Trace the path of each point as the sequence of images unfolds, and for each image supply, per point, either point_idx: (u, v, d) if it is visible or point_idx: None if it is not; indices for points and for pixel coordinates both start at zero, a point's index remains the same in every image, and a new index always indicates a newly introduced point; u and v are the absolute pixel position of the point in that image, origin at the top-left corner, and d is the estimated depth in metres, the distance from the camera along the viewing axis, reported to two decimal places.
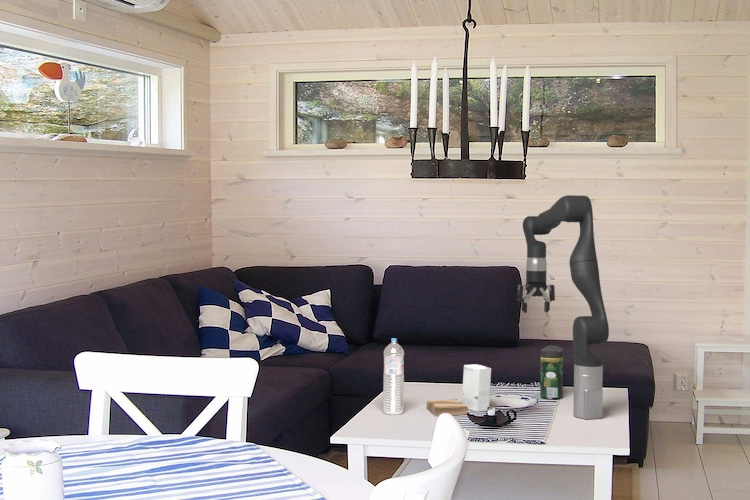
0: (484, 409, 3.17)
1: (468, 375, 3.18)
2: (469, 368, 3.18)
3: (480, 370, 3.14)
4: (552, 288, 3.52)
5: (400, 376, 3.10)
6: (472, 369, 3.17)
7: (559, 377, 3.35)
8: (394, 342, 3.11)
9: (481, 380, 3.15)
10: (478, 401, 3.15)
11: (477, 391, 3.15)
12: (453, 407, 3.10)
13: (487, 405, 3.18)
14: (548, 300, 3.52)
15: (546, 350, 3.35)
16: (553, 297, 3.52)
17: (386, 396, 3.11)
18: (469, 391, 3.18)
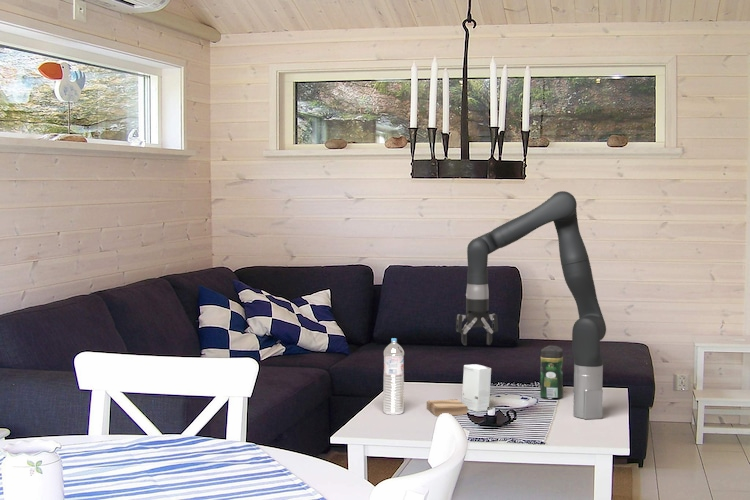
0: (484, 409, 3.17)
1: (468, 375, 3.18)
2: (469, 368, 3.18)
3: (480, 370, 3.14)
4: (495, 318, 3.18)
5: (400, 376, 3.10)
6: (472, 369, 3.17)
7: (559, 377, 3.35)
8: (394, 342, 3.11)
9: (481, 380, 3.15)
10: (478, 401, 3.15)
11: (477, 391, 3.15)
12: (453, 407, 3.10)
13: (487, 405, 3.18)
14: (490, 331, 3.18)
15: (546, 350, 3.35)
16: (496, 328, 3.18)
17: (386, 396, 3.11)
18: (469, 391, 3.18)
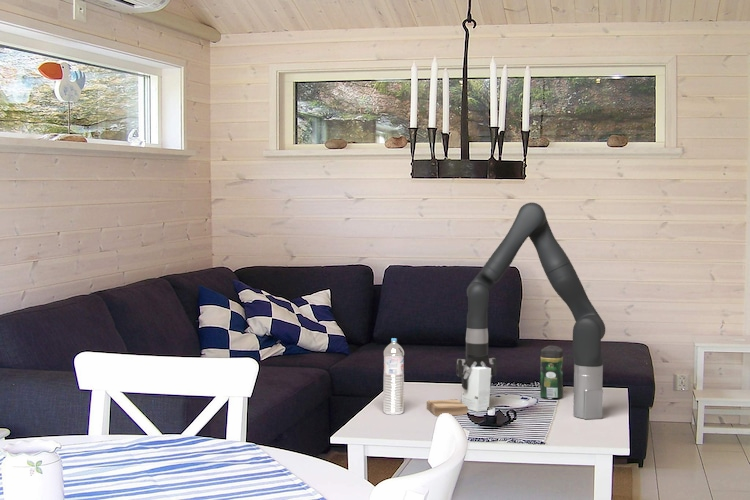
0: (484, 409, 3.17)
1: (468, 375, 3.18)
2: None
3: (480, 370, 3.14)
4: (494, 362, 3.19)
5: (400, 376, 3.10)
6: (472, 369, 3.17)
7: (559, 377, 3.35)
8: (394, 342, 3.11)
9: (481, 380, 3.15)
10: (478, 401, 3.15)
11: (477, 391, 3.15)
12: (453, 407, 3.10)
13: (487, 405, 3.18)
14: None
15: (546, 350, 3.35)
16: (495, 372, 3.19)
17: (386, 396, 3.11)
18: (469, 391, 3.18)
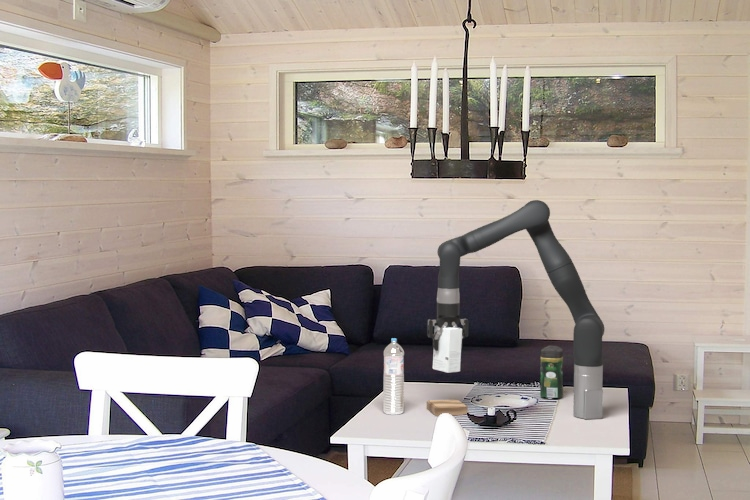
0: (455, 370, 3.12)
1: (439, 336, 3.13)
2: None
3: (450, 330, 3.09)
4: (466, 323, 3.14)
5: (400, 376, 3.10)
6: (443, 329, 3.12)
7: (559, 377, 3.35)
8: (394, 342, 3.11)
9: (452, 340, 3.10)
10: (448, 362, 3.10)
11: (448, 352, 3.10)
12: (453, 407, 3.10)
13: (458, 366, 3.13)
14: None
15: (546, 350, 3.35)
16: (466, 333, 3.14)
17: (386, 396, 3.11)
18: (440, 352, 3.13)
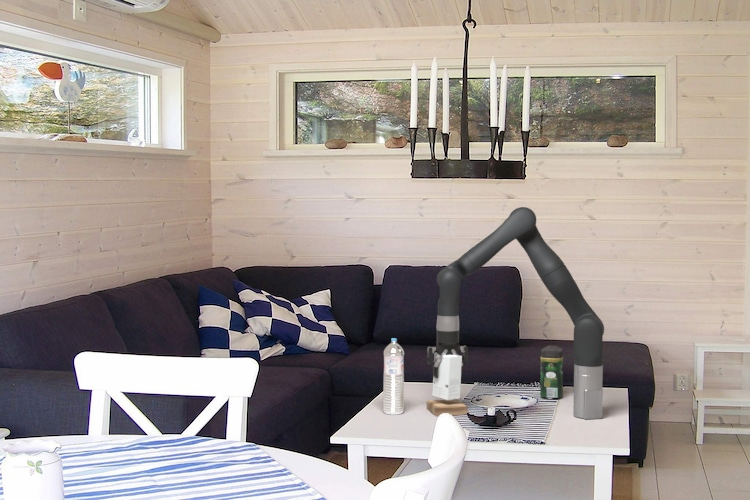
0: (455, 397, 3.12)
1: None
2: (439, 356, 3.13)
3: (450, 358, 3.10)
4: (465, 350, 3.14)
5: (400, 376, 3.10)
6: (442, 357, 3.12)
7: (559, 377, 3.35)
8: (394, 342, 3.11)
9: (452, 368, 3.10)
10: (448, 389, 3.10)
11: (448, 379, 3.10)
12: (453, 407, 3.10)
13: (458, 393, 3.13)
14: None
15: (546, 350, 3.35)
16: (466, 360, 3.15)
17: (386, 396, 3.11)
18: (440, 379, 3.13)
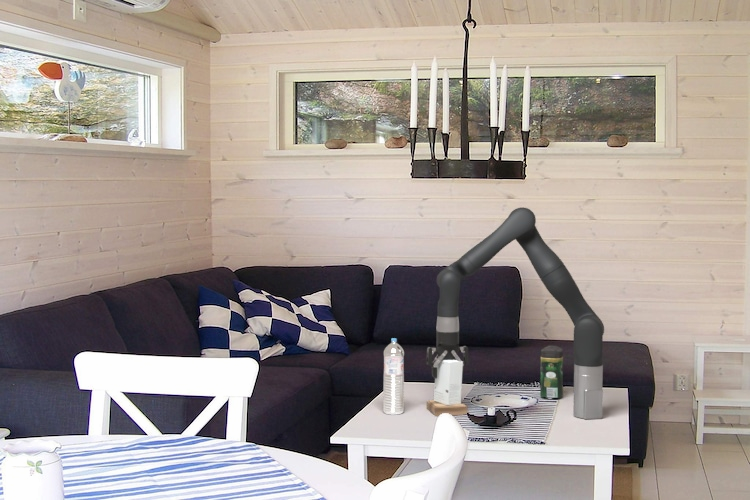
0: (455, 402, 3.12)
1: (439, 368, 3.14)
2: None
3: (451, 363, 3.10)
4: (466, 350, 3.14)
5: (400, 376, 3.10)
6: (443, 362, 3.12)
7: (559, 377, 3.35)
8: (394, 342, 3.11)
9: (452, 373, 3.11)
10: (448, 395, 3.11)
11: (448, 385, 3.10)
12: (453, 407, 3.10)
13: (459, 399, 3.13)
14: None
15: (546, 350, 3.35)
16: (467, 360, 3.15)
17: (386, 396, 3.11)
18: (441, 384, 3.14)
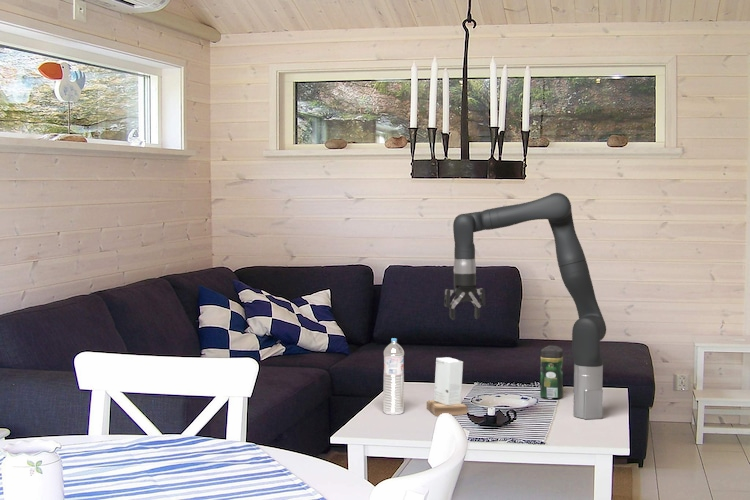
0: (455, 402, 3.12)
1: (440, 368, 3.14)
2: (441, 361, 3.14)
3: (451, 363, 3.10)
4: (482, 292, 3.21)
5: (400, 376, 3.10)
6: (443, 362, 3.12)
7: (559, 377, 3.35)
8: (394, 342, 3.11)
9: (452, 373, 3.11)
10: (448, 395, 3.11)
11: (448, 385, 3.10)
12: (453, 407, 3.10)
13: (459, 399, 3.13)
14: (478, 305, 3.21)
15: (546, 350, 3.35)
16: (483, 302, 3.22)
17: (386, 396, 3.11)
18: (441, 384, 3.14)
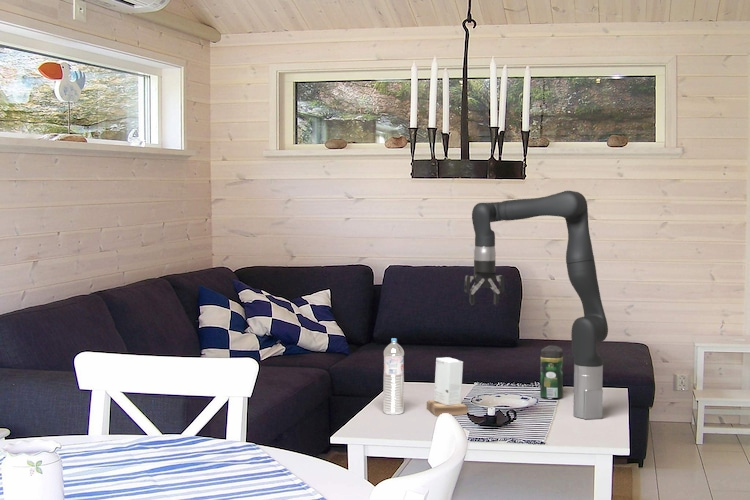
0: (455, 402, 3.12)
1: (440, 368, 3.14)
2: (441, 361, 3.14)
3: (451, 363, 3.10)
4: (501, 279, 3.32)
5: (400, 376, 3.10)
6: (443, 362, 3.12)
7: (559, 377, 3.35)
8: (394, 342, 3.11)
9: (452, 373, 3.11)
10: (448, 395, 3.11)
11: (448, 385, 3.10)
12: (453, 407, 3.10)
13: (459, 399, 3.13)
14: (497, 292, 3.32)
15: (546, 350, 3.35)
16: (503, 288, 3.32)
17: (386, 396, 3.11)
18: (441, 384, 3.14)
